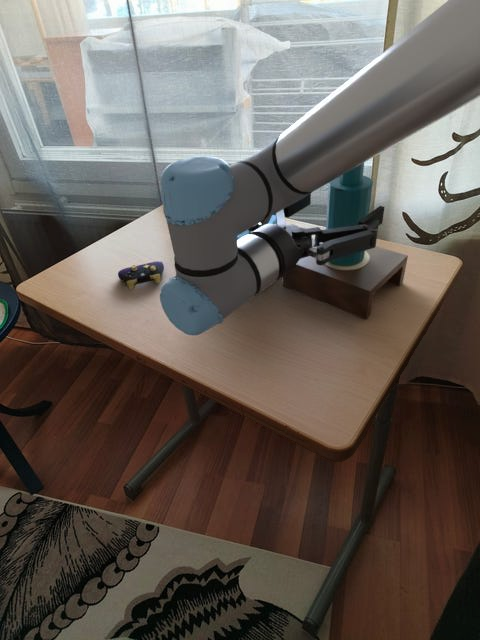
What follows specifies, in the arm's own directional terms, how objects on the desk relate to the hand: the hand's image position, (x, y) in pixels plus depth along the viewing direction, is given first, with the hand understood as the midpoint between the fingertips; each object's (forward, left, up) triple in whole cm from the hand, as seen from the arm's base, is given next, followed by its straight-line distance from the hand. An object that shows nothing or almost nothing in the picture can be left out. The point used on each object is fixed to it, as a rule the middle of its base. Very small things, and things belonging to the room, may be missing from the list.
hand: (343, 204), depth 70 cm
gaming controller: (+34, +20, -17) cm, 43 cm away
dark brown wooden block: (0, -2, -17) cm, 17 cm away
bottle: (0, -2, -11) cm, 11 cm away
